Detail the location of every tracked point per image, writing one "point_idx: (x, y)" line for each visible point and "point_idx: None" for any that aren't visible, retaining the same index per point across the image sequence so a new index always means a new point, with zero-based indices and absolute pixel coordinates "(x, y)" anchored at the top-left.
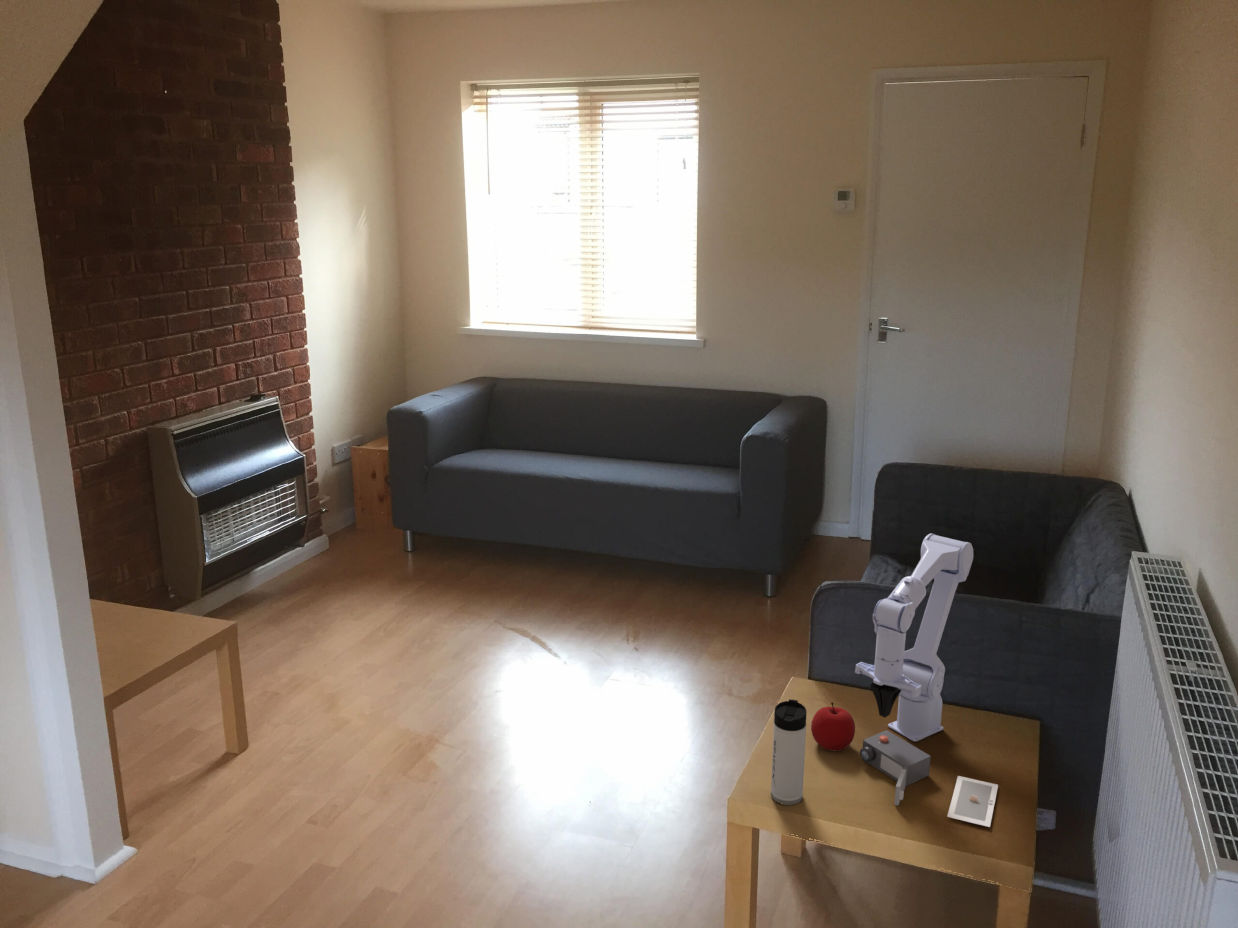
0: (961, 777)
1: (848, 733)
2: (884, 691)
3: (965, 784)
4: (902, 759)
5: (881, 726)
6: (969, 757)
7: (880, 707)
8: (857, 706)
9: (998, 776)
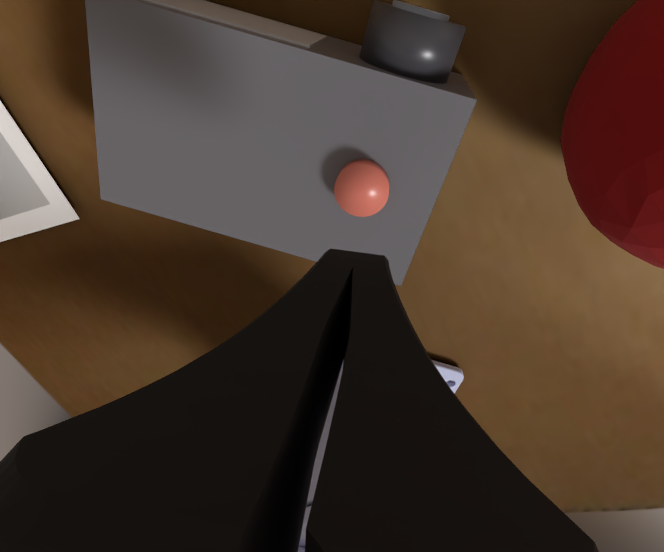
0: (65, 215)
1: (606, 79)
2: (94, 527)
3: (21, 180)
4: (159, 53)
5: (485, 359)
6: (154, 342)
7: (359, 293)
8: (624, 426)
9: (31, 298)
